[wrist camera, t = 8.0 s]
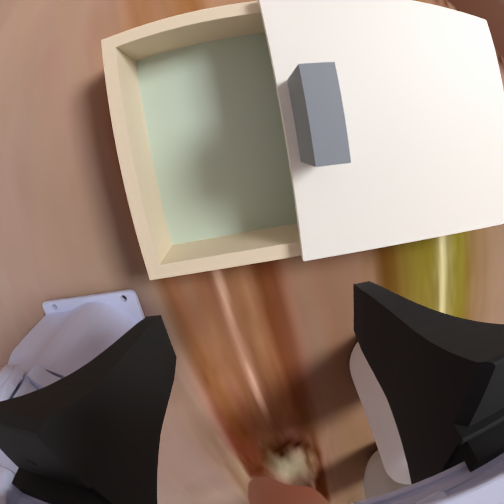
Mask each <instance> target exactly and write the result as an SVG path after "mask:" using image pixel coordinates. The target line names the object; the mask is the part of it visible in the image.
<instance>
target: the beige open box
mask: <svg viewBox="0 0 504 504" xmlns="http://www.w3.org/2000/svg"><path fill="white" fill-rule="evenodd" d="M101 43H102V54H103V64H104V73H105V81H106V88H107V96H108V103H109V109H110V115H111V121H112V127H113V133H114V138H115V144H116V149H117V154H118V159H119V164H120V169H121V173H122V178H123V182H124V187H125V191H126V195H127V199H128V203H129V207H130V211H131V215H132V219H133V223H134V227H135V231H136V234H137V238H138V241H139V245H140V249H141V252H142V255H143V259H144V262H145V266H146V269H147V272H148V275H149V279H150V280H154V279H161V278H167V277H174V276H180V275H186V274H193V273H199V272H205V271H211V270H217V269H224V268H230V267H236V266H242V265H248V264H254V263H260V262H266V261H272V260H278V259H284V258H290V257H296V256H301V247H300V239H299V231H298V223H297V216H296V208H295V201H294V194H293V187H292V180H291V173H290V167H289V160H288V154H287V147H286V141H285V135H284V129H283V123H282V117H281V112H280V106H279V100H278V95H277V90H276V84H275V79H274V74H273V69H272V64H271V59H270V54H269V49H268V44H267V39H266V34H265V30H264V25H263V21H262V16H261V12H260V7H259V3H258V1H253V2H245V3H237V4H231V5H224V6H219V7H213V8H208V9H203V10H198V11H194V12H189V13H185V14H181V15H177V16H173V17H169V18H165V19H162V20H158V21H155V22H152V23H148V24H145V25H142V26H139V27H136V28H133V29H130V30H127V31H124V32H122V33H119V34H116V35H114V36H111V37H108V38H106V39H103V40H101Z"/></svg>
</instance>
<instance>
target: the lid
mask: <svg viewBox="0 0 504 504" xmlns="http://www.w3.org/2000/svg"><path fill="white" fill-rule="evenodd" d="M258 3H259V7H260V12H261V16H262V21H263V25H264V30H265V34H266V39H267V44H268V49H269V54H270V59H271V64H272V69H273V74H274V79H275V84H276V90H277V95H278V100H279V106H280V112H281V117H282V123H283V129H284V135H285V141H286V147H287V154H288V160H289V167H290V173H291V180H292V187H293V194H294V201H295V208H296V216H297V223H298V231H299V239H300V247H301V256H302V259H303V261H308V260H314V259H320V258H325V257H331V256H337V255H342V254H348V253H354V252H359V251H365V250H370V249H376V248H381V247H387V246H392V245H397V244H403V243H408V242H413V241H419V240H424V239H429V238H434V237H440V236H445V235H450V234H455V233H460V232H465V231H470V230H475V229H480V228H485V227H490V226H495V225H500V224H504V91H503V85H502V80H501V75H500V70H499V65H498V61H497V57H496V52H495V49H494V45H493V41H492V37H491V34H490V31H489V27H488V24H487V21H486V20H485V19H482V18H479V17H476V16H472V15H469V14H466V13H463V12H459V11H456V10H452V9H448V8H445V7H441V6H436V5H432V4H428V3H423V2H418V1H413V0H258Z"/></svg>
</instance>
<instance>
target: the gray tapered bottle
mask: <svg viewBox="0 0 504 504" xmlns="http://www.w3.org/2000/svg"><path fill="white" fill-rule="evenodd" d="M409 485H412V484H401V483H398V482H396V481H394V480H393V479H391V478H390V476H389V475H388V474H387V473H386V471H385V468H384V465H383V462H382V459H381V457H380V454H379V451H378V450H377V451H376V452H374V454H373V455H372V456H371V458H370V459H369V461H368V463H367V466H366V470H365V475H364V491H365V495H366V499H370V498H373V497H377V496H380V495H383V494H386V493H389V492H392V491H395V490H398V489H401V488H404V487H407V486H409Z"/></svg>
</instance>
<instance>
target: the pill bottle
mask: <svg viewBox="0 0 504 504" xmlns="http://www.w3.org/2000/svg"><path fill="white" fill-rule="evenodd" d="M349 366H350V372H351V377H352V379H353V382H354V385H355V387H356V390H357V393H358V395H359V398H360V401H361V403H362V406H363V409H364V411H365V414H366V417H367V420H368V422H369V425H370V428H371V431H372V434H373V436H374V439H375V442H376V445H377V448H378V451H379V454H380V457H381V459H382V462H383V465H384V468H385V471H386V473H387V474H388V475H389V476H390V478H391V479H393V480H394V481H396V482H398V483H401V484H411V479H410V474H409V470H408V465H407V461H406V457H405V453H404V449H403V446H402V442H401V439H400V436H399V432H398V429H397V426H396V423H395V420H394V417H393V414H392V411H391V409H390V406H389V403H388V401H387V398H386V396H385V394H384V392H383V390H382V388H381V386H380V384H379V383H378V381H377V379H376V377H375V375H374V373H373V371H372V369H371V368H370V366H369V364H368V362H367V360H366V358H365V356H364V354H363V353H362V351H361V348H360V345H359V343H358V342H357V343H356V345H355V347H354V349H353V351H352V353H351V357H350V363H349Z"/></svg>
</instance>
